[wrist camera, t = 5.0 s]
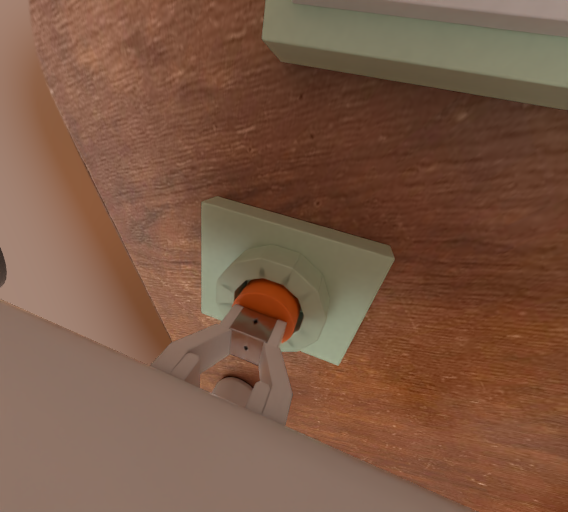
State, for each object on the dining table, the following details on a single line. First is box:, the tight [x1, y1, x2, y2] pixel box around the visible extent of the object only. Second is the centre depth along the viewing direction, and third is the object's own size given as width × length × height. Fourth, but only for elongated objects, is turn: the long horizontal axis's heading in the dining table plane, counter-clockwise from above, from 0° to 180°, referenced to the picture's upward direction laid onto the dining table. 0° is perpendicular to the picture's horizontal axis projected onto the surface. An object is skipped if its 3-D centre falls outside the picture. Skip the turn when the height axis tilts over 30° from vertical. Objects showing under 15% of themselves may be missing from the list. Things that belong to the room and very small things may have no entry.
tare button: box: [232, 278, 301, 343], centre depth 12 cm, size 4×4×2 cm
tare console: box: [201, 196, 395, 365], centre depth 14 cm, size 11×9×4 cm
